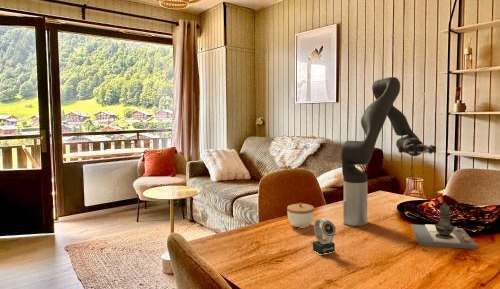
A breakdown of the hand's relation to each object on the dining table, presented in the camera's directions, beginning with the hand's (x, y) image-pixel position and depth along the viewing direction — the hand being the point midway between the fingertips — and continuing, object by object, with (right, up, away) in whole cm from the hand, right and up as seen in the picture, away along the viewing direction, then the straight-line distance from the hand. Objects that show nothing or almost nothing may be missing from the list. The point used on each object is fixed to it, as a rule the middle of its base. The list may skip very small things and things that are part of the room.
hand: (419, 151), depth 143 cm
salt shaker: (-2, -29, -23) cm, 37 cm away
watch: (-44, -33, -27) cm, 62 cm away
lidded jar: (-48, -30, -1) cm, 57 cm away
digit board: (-1, -30, -18) cm, 35 cm away
